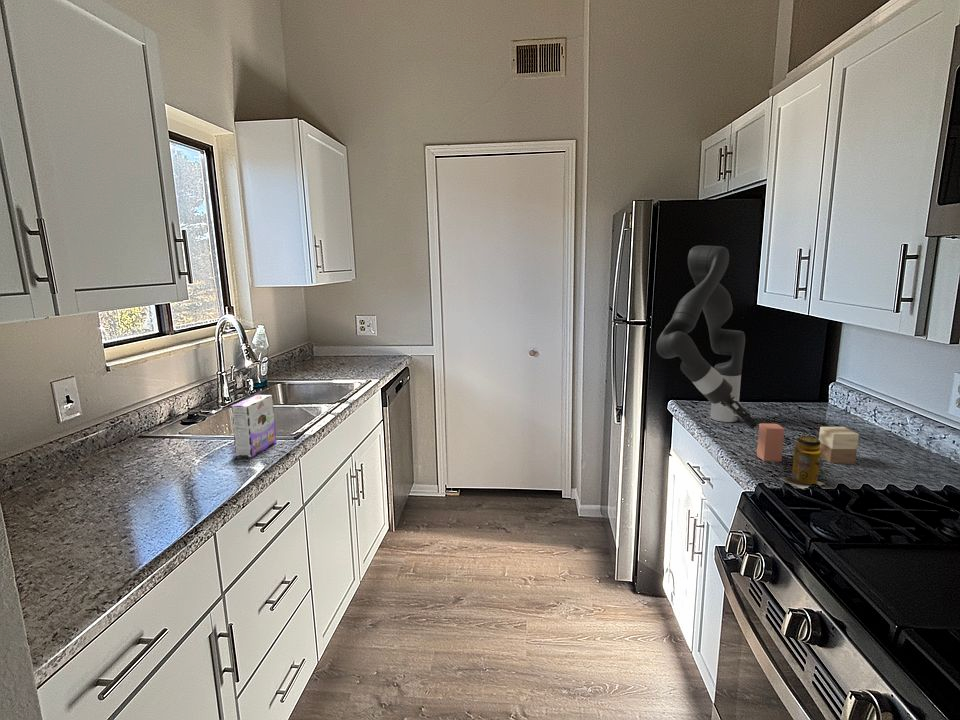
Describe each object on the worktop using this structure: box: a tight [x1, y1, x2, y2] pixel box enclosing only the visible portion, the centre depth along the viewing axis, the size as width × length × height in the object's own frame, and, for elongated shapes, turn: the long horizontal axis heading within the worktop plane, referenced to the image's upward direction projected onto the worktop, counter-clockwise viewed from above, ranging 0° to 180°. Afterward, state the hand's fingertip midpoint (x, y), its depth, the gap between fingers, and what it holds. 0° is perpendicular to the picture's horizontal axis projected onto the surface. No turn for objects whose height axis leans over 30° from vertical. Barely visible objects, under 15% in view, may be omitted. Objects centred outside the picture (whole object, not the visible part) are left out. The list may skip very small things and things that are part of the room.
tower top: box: [818, 426, 860, 450], centre depth 161 cm, size 7×7×4 cm
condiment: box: [778, 435, 826, 490], centre depth 144 cm, size 7×8×12 cm
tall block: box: [756, 423, 785, 462], centre depth 162 cm, size 5×5×10 cm
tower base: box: [820, 442, 858, 465], centre depth 161 cm, size 7×7×4 cm
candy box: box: [230, 394, 277, 458], centre depth 172 cm, size 14×6×16 cm, turn 168°
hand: (748, 422), depth 161 cm, fingers open, 8 cm apart
